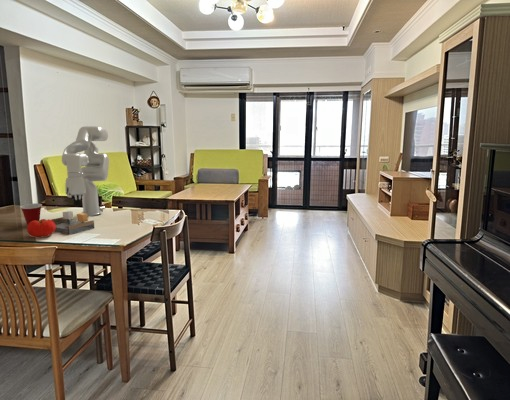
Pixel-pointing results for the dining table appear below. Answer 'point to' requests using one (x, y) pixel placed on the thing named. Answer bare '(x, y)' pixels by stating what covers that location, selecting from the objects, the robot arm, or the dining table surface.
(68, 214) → the block
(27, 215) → the plastic cup
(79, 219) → the block
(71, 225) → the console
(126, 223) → the dining table surface
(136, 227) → the dining table surface
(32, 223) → the tomato
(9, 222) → the dining table surface
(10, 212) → the dining table surface
